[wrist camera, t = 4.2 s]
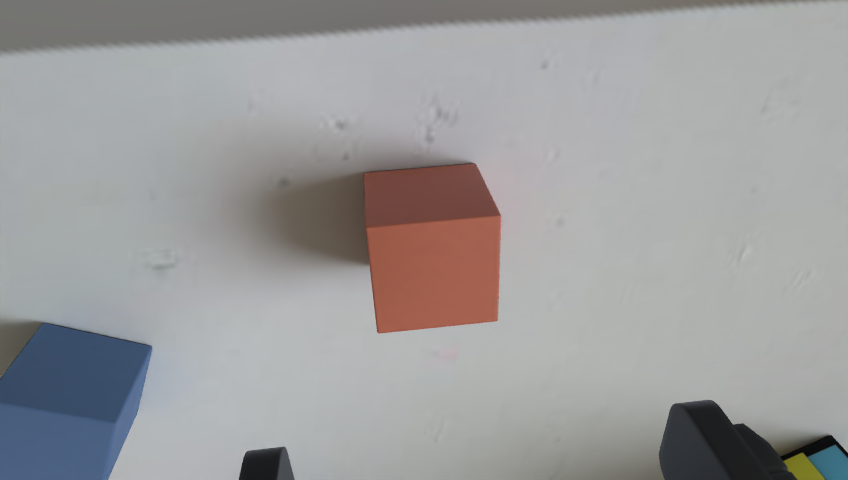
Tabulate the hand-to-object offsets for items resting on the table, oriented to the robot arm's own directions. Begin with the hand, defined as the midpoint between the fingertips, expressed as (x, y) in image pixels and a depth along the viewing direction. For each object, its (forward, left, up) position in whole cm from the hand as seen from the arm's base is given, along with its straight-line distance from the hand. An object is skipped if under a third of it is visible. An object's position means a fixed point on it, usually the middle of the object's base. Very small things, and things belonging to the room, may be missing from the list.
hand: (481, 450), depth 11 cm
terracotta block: (0, 0, -11) cm, 11 cm away
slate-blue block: (-10, -11, -11) cm, 18 cm away
